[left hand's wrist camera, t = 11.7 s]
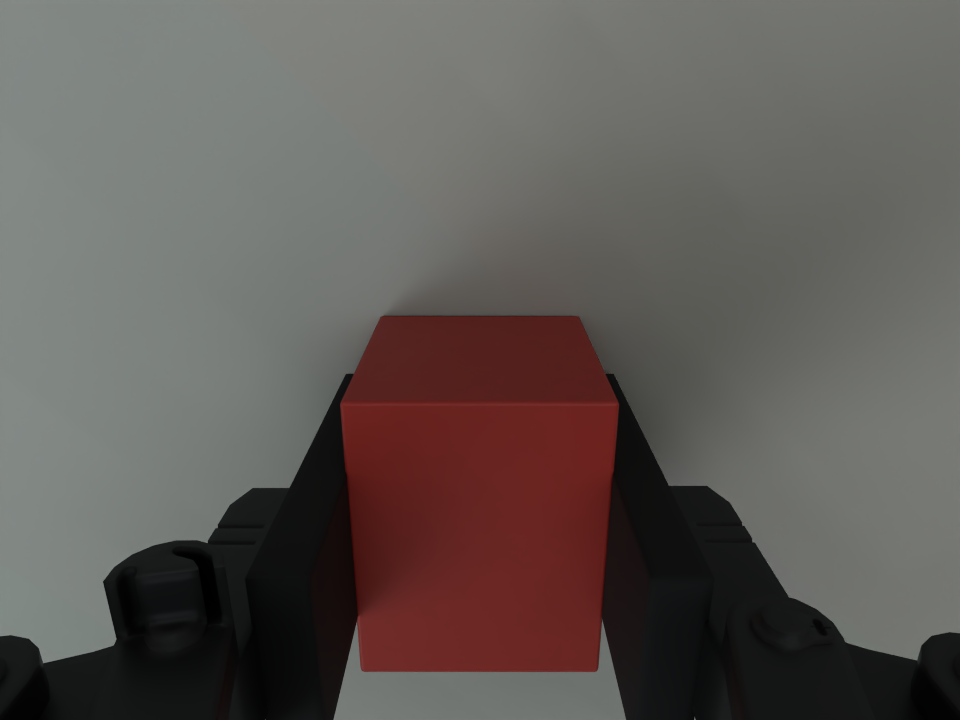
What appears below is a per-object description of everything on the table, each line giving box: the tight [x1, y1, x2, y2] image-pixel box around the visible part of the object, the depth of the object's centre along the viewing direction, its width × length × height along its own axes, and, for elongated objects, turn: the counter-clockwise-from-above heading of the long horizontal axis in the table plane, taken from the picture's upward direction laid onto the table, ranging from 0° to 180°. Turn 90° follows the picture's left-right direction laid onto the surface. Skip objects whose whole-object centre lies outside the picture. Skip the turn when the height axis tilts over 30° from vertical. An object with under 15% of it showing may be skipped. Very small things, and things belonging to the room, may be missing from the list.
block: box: [340, 316, 619, 672], centre depth 13 cm, size 4×5×4 cm
